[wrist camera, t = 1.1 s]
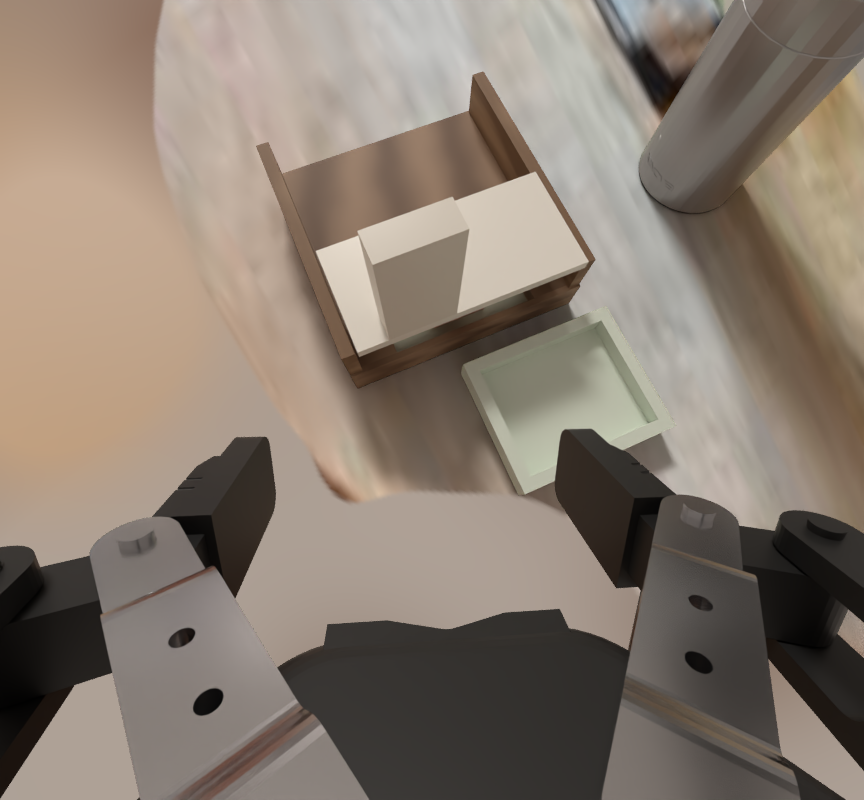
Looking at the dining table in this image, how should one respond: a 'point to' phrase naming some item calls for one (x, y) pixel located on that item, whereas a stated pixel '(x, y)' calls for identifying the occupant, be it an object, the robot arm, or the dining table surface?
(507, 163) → the brown wooden box
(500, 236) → the cover
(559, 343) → the sage tray
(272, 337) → the dining table surface
